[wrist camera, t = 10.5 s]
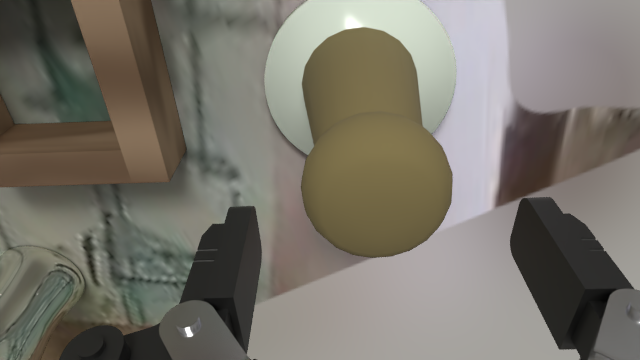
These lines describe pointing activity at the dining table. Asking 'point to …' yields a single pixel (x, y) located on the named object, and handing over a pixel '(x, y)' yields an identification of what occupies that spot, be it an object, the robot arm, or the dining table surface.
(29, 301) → the beer glass
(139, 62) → the frame
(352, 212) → the olive pawn
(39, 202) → the dining table surface
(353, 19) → the coaster
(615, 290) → the robot arm
